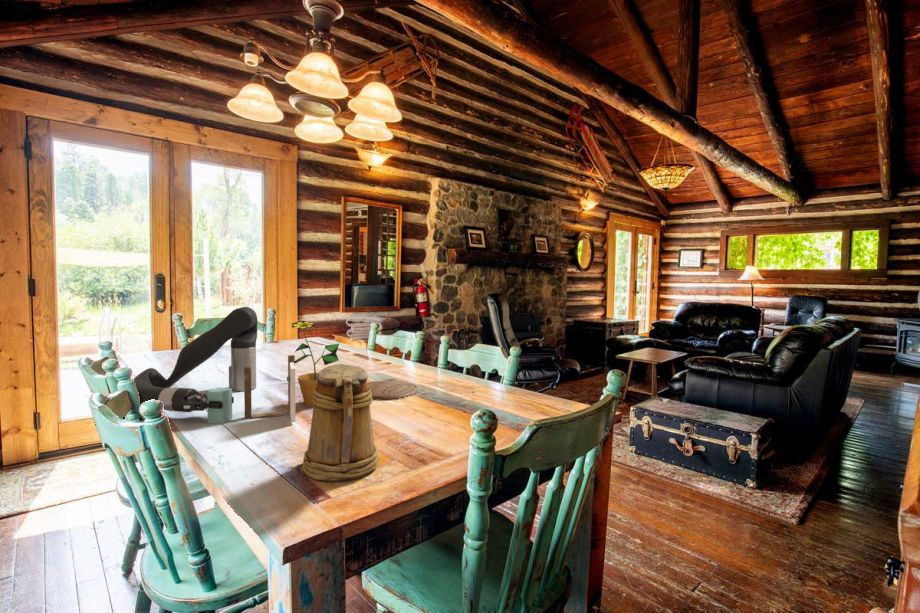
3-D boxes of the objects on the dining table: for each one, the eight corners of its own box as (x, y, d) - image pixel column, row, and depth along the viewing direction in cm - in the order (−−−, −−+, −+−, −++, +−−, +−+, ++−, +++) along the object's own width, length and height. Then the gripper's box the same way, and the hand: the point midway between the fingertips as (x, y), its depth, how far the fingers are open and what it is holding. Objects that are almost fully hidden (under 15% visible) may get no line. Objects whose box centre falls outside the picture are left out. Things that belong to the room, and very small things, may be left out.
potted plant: (277, 405, 163) (277, 322, 161) (316, 394, 179) (316, 318, 177) (313, 414, 155) (314, 326, 152) (351, 401, 171) (351, 322, 169)
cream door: (286, 412, 152) (285, 362, 151) (293, 412, 153) (293, 362, 152) (287, 422, 143) (287, 369, 141) (295, 421, 144) (295, 368, 142)
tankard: (367, 448, 126) (368, 359, 124) (392, 484, 105) (393, 378, 103) (298, 457, 118) (298, 363, 117) (310, 499, 97) (310, 384, 96)
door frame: (244, 419, 147) (243, 358, 146) (245, 416, 150) (244, 357, 149) (294, 414, 153) (294, 356, 152) (294, 412, 156) (294, 354, 155)
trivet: (344, 396, 178) (344, 392, 178) (374, 382, 202) (374, 378, 202) (402, 403, 171) (403, 398, 171) (427, 388, 195) (427, 383, 194)
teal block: (207, 422, 144) (207, 391, 143) (218, 417, 148) (217, 387, 148) (222, 423, 143) (222, 392, 142) (232, 418, 148) (231, 388, 147)
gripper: (194, 404, 154) (241, 407, 152) (162, 417, 140) (213, 421, 138) (194, 383, 154) (241, 385, 152) (161, 394, 140) (212, 397, 138)
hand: (227, 402), depth 145 cm, fingers closed on teal block, 5 cm apart
